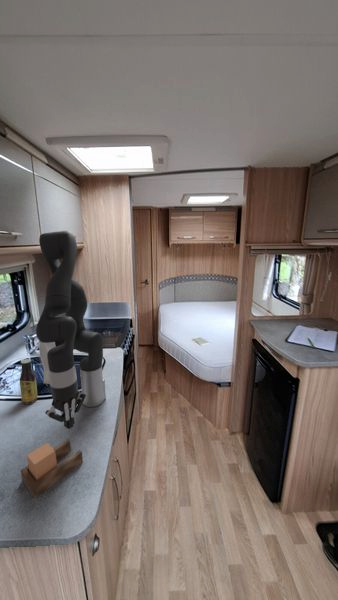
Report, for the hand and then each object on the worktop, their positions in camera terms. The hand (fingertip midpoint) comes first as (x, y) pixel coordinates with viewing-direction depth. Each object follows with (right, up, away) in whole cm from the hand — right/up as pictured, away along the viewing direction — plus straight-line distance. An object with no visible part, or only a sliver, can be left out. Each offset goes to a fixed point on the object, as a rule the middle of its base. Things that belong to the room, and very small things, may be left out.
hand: (69, 426), depth 79 cm
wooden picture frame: (-4, -13, -1) cm, 14 cm away
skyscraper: (-28, -1, +47) cm, 55 cm away
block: (-6, -13, -4) cm, 15 cm away
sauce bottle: (-31, -5, +32) cm, 44 cm away
